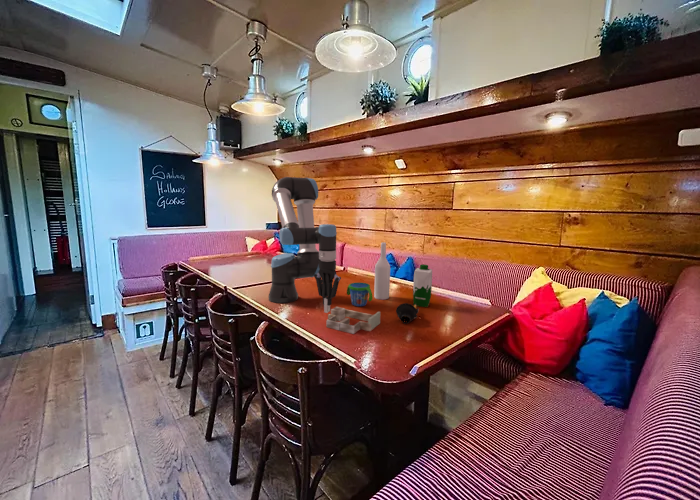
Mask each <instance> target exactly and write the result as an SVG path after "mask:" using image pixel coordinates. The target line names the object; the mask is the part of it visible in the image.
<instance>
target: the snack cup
mask: <svg viewBox="0 0 700 500" xmlns="http://www.w3.org/2000/svg"><path fill="white" fill-rule="evenodd" d="M346 288H347V290H346V294H347V295H348V296H350V301H351V305H352V306H354V307H365V306H366V305H367V303H368V302H371V301H373V292H372V290H371V284H370V283H366V282H352V283H349V284H348V286H347V287H346Z"/></svg>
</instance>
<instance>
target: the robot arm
mask: <svg viewBox="0 0 700 500" xmlns="http://www.w3.org/2000/svg"><path fill="white" fill-rule="evenodd" d="M271 197H272V200H273V201H274V202H275V205H276V208H277V212H278V217H279V220H280V224H281V228H280V230H279V233H278V235H279V236H278V237H279V242H280V244H281V245H284V246H287V245H288V246H293V245H296V246H297V245H299V250H298V251H297V252H296V255H295V254H294V253H292V252H291V253H282V254H281V253H280V254H277V255H275V256H273V257H272V258H271V266H270V267H271V286H270V290H269V294H268V300H269V302H271V303H276V304H285V303H292V302H295V301H297V300H298V299H299V293H298V290H297V287H296V284H295V281H296V280H295V279H305V278H306V279H308V278H314V279H315V282H316V287H317V291H318V296H319V297H322V305H323V310H324V311H323V313H326V314H328V313H329V312H330V313H331V305H332V304H333V303H332V302H333V301H332V300H333V298H335V297H336V296H337V292H338V288H339V283H340V281H341V279H342V277H341V276H339V275H337V272H336V269H337V260H336V259H337V235H338V232H337V226H336V225H335V224H330V223H327V224H325V223H324V224H319V225H318V226H315V220H314V219H315V217H314V216H315V215H314V205H315V203H316V200H318V198H319V187H318V184H317V181H316V180H315V179H314V178H310V177H295V176H294V177H293V176H292V177H291V176H285V177H282V178H280V179H278V180H277V181H276V182H275V183H274V184H273V186H272V189H271ZM292 200H293V202H292ZM293 204H294V205H295V206H296V212H297V215H296V212H295V209H294V206H293ZM317 245H318V249H317V248H316V246H317Z"/></svg>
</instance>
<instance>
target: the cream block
mask: <svg viewBox="0 0 700 500" xmlns="http://www.w3.org/2000/svg"><path fill="white" fill-rule="evenodd" d="M345 309H346V308H345V307H340V306H335V307H333V308H330V314H332V315H336V321H337V322H340V321H342V320H344V319H345V318H346V316H345Z"/></svg>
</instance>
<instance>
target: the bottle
mask: <svg viewBox="0 0 700 500" xmlns="http://www.w3.org/2000/svg"><path fill="white" fill-rule="evenodd" d="M386 253H387V242H384V241H383V242H381V243H380V257H379V259H378V260H377V262H376V263H375V265H374V290H373V293H374V294H373V296H374V299H376V300H383V301H384V300H389V298H390V285H391V282H390V281H391V265H390V263H389V261H388V259H387V257H386V256H387V255H386Z"/></svg>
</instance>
